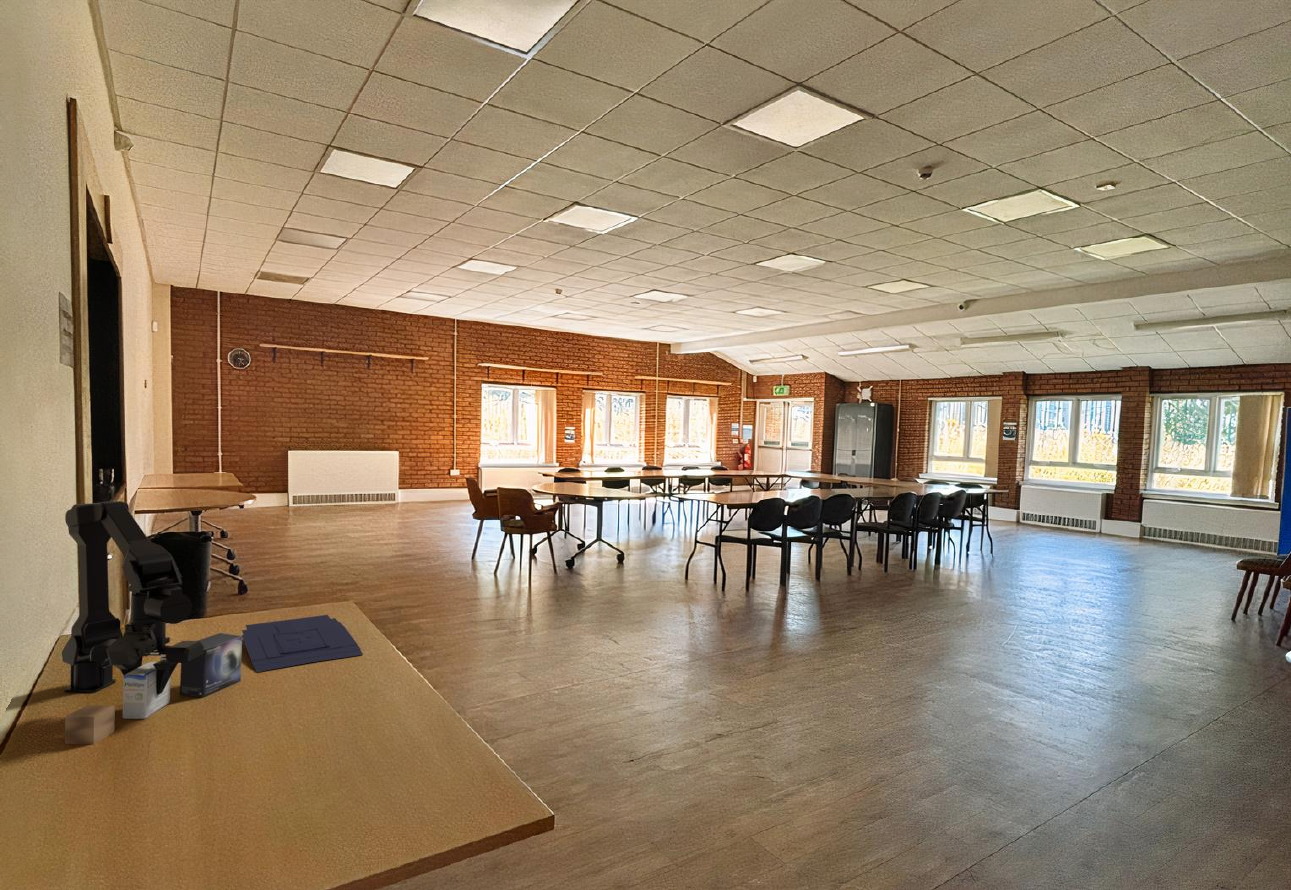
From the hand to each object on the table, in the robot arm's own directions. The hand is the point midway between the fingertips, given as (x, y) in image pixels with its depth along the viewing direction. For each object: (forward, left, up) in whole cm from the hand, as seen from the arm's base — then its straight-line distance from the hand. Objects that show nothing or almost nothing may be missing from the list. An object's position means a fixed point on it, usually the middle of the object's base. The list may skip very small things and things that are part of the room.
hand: (147, 693), depth 138 cm
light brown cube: (-2, -12, -4) cm, 13 cm away
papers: (+11, +41, -4) cm, 43 cm away
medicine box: (0, 0, -4) cm, 4 cm away
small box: (+5, +13, -4) cm, 14 cm away
